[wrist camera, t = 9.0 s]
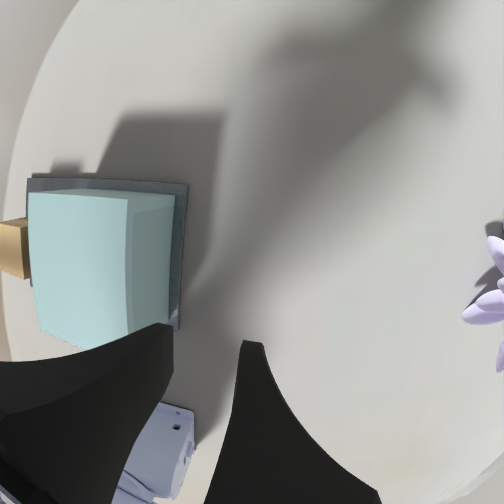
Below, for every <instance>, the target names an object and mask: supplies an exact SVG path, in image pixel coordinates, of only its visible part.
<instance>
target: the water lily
mask: <svg viewBox="0 0 504 504" xmlns="http://www.w3.org/2000/svg"><path fill="white" fill-rule="evenodd" d="M503 228H504V221H503ZM487 242H488V247H489V250H490V253H491V256H492V258H493V260H494V262H495V264H496V265H497V267H498V268H499V270H500V271H501V273H502V274H503V275H504V240H502V239H500V238H498V237H495V236H488V237H487ZM497 285H498V287H499V290H493V291H490V292H487V293H485V294H483V295H482V296H480V297H479V298H478V299H477V300H476V302H475V303H473V304H472V305H470V306H469V307H468V308H466V309H465V310H464V312H463V314H462V316H461V317H460V319H461V320H462V321H464V322H466V323H469V324H473V325H486V324H491V323H495V322H499V321H502V320H504V277H503V278H501V279H499V280H498V281H497ZM502 371H504V339H503V341H502V344H501V346H500V349H499V353H498V356H497V362H496V372H497V373H500V372H502Z"/></svg>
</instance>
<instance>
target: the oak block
mask: <svg viewBox="0 0 504 504" xmlns="http://www.w3.org/2000/svg"><path fill="white" fill-rule="evenodd" d="M0 268H1V270H2V271H4V272H7V273H9V274H11V275H14V276H16V277H19V278H21V279H24V280H25V279H27V278H30V277H32V276H31V266H30V254H29V236H28V217H24V218H19V219H14V220H9V221H4V222H0Z"/></svg>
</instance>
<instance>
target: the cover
mask: <svg viewBox="0 0 504 504" xmlns="http://www.w3.org/2000/svg"><path fill="white" fill-rule="evenodd" d="M174 204H175V195H166V194H155V193H143V192H131V191H117V190H102V189H69V190H55V191H42V192H31V193H29V197H28V236H29V254H30V266H31V276H32V284H33V291H34V298H35V304H36V310H37V315H38V320H39V325H40V329H41V330H43V331H45V332H47V333H49V334H51V335H53V336H55V337H57V338H59V339H62V340H64V341H66V342H68V343H71V344H73V345H75V346H78V347H80V348H82V349H85V350H90V349H92V348H95V347H98V346H101V345H103V344H106V343H109V342H112V341H114V340H117V339H119V338H121V337H124V336H126V335H128V334H131V333H133V332H135V331H138V330H140V329H142V328H144V327H147V326H149V325H151V324H154V323H157V322H158V323H162V324H167V322H168V320H169V277H170V256H171V240H172V227H173V215H174Z"/></svg>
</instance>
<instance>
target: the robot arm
mask: <svg viewBox="0 0 504 504" xmlns="http://www.w3.org/2000/svg"><path fill="white" fill-rule="evenodd" d="M173 371H174V365H173V326H171V325H167V324H162V323H158V322H157V323H154V324H151V325H149V326H147V327H144V328H142V329H140V330H138V331H135V332H133V333H131V334H128V335H126V336H124V337H121V338H119V339H117V340H114V341H112V342H109V343H106V344H103V345H101V346H98V347H95V348H92V349H90V350H86V351H83V352H80V353H76V354H72V355H68V356H63V357H58V358H51V359H44V360H37V361H23V362H3V361H1V362H0V491H1V492H2V493H3V494H4V495H6V496H7V497H8V498H9V499H10V500H11V501H12V502H14V503H15V504H157V503H155V502H152V501H153V499H154V497H159V498H165V499H169V500H175V498H176V497H177V495H178V493H179V491H180V489H181V486H182V483H183V480H184V477H185V474H186V472H187V469H188V466H189V463H190V460H191V457H192V455H193V454H194V446H195V443H194V413H193V412H192V411H190V410H186V409H182V408H178V407H175V406H171V405H167V404H164V403H161V402H159V401H160V400H161V398H162V396H163V395H164V393H165V391H166V388H167V386H168V384H169V381H170V379H171V376H172V374H173ZM0 504H6V503H5V502H4V501H3V500H2V499H1V498H0ZM204 504H382V502H381V500H380V497H379V495H378V492H377V491H376V490H375V489H373V488H372V487H370V486H369V485H367V484H366V483H364V482H363V481H361V480H360V479H358V478H357V477H355V476H354V475H352V474H351V473H349V472H348V471H347V470H345V469H344V468H343V467H342V466H340V465H339V464H338V463H337V462H336V461H335V460H334V459H332V458H331V457H330V456H329V455H328V454H327V453H326V452H325V451H324V450H323V449H322V448H321V447H320V446H319V444H318V443H317V442H316V441H315V440H314V439H313V438H312V437H311V436H310V435H309V434H308V432H307V431H306V430H305V429H304V427H303V426H302V425H301V424H300V422H299V421H298V419H297V418H296V417H295V415H294V414H293V412H292V411H291V409H290V408H289V406H288V404H287V403H286V401H285V399H284V397H283V396H282V394H281V392H280V390H279V388H278V386H277V384H276V382H275V379H274V377H273V375H272V372H271V370H270V367H269V365H268V362H267V358H266V355H265V350H264V346H263V344H262V343H259V342H253V341H247V340H243V342H242V345H241V348H240V354H239V361H238V368H237V376H236V383H235V390H234V397H233V405H232V413H231V417H230V420H229V424H228V428H227V431H226V435H225V438H224V442H223V445H222V448H221V452H220V455H219V459H218V462H217V465H216V468H215V471H214V474H213V477H212V480H211V484H210V487H209V490H208V493H207V495H206V498H205V501H204Z"/></svg>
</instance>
